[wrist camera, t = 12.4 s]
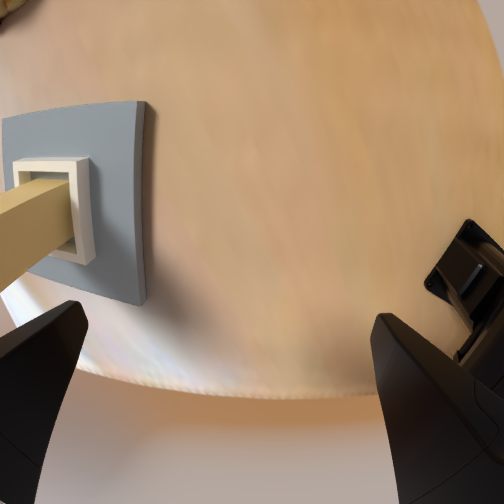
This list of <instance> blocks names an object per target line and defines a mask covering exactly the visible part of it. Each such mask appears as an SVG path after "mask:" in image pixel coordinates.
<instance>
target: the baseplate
mask: <svg viewBox="0 0 504 504" xmlns="http://www.w3.org/2000/svg"><path fill="white" fill-rule="evenodd" d="M144 113H145V101H125V102H109V103H96V104H86V105H77V106H69V107H62V108H55V109H49V110H43V111H37V112H32V113H27V114H22V115H17V116H13V117H9V118H4V119H2V151H3V169H4V181H5V190H6V191H8V190H11V189H13V188H15V187H17V186H20V185H22V184H25V183H27V182H29V181H32V180H34V179H37V178H44V179H62V180H69V186H70V200H71V211H72V220H73V229H74V237H72V238H71V239H69V240H68V241H66V242H65V243H64V244H62V245H61V246H59V247H58V248H57V249H55V250H54V251H52V252H51V253H50V254H48V255H47V256H46V257H44V258H43V259H42V260H40V261H39V262H38V263H36V264H35V265H34V266H33V267H31V268H30V269H29V270H27V271H26V272H29V273H32V274H35V275H38V276H41V277H43V278H46V279H49V280H52V281H55V282H58V283H61V284H64V285H68V286H71V287H74V288H77V289H80V290H84V291H87V292H90V293H94V294H97V295H100V296H104V297H107V298H111V299H114V300H118V301H122V302H125V303H129V304H133V305H137V306H142V304H143V303H144V302H145V300H146V299H147V297H146V286H145V274H144V260H143V241H142V206H141V179H142V145H143V127H144Z"/></svg>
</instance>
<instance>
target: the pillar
mask: <svg viewBox="0 0 504 504" xmlns="http://www.w3.org/2000/svg"><path fill="white" fill-rule="evenodd" d="M72 237H74V229H73V220H72V211H71V200H70V186H69V180H62V179H44V178H37V179H34V180H32V181H29V182H27V183H25V184H22V185H20V186H17V187H15V188H13V189H11V190H8V191H6V192H4V193H2V194H0V293H1V292H2V291H3V290H4V289H5V288H7V287H8V286H9V285H10V284H11V283H13V282H14V281H15V280H16V279H17V278H19V277H20V276H21V275H22V274H24V273H25V272H26V271H27V270H29V269H30V268H31V267H33V266H34V265H35V264H36V263H38V262H39V261H40V260H42V259H43V258H44V257H46V256H47V255H48V254H50V253H51V252H52V251H54V250H55V249H57V248H58V247H59V246H61V245H62V244H64V243H65V242H66V241H68V240H69V239H71V238H72Z"/></svg>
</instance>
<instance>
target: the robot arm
mask: <svg viewBox="0 0 504 504" xmlns="http://www.w3.org/2000/svg"><path fill="white" fill-rule="evenodd" d="M470 224H471V226H470V227H469V228H468V226H469V225H470ZM430 282H432V283H431V284H430V285H428V284H429V283H430ZM424 286H425V288H426V289H427V290H428V291H430V292H432V293H433V294H435V295H437V296H438V297H440V298H441V299H443V300H445V301H446V302H448V303H450V304H451V305H453V306H454V307H455V309H456V310H457V312H458V313H459V315H460V316H461V318H462V320H463V321H464V323H465V324H466V326H467V328H468V329H469V331H470V333H471V335H470V336H469V338H468V339H467V340H466V342H465V343H464V345H463V346H462V347H461V349H460V350H458V351H457V352H456V353H455V355H454V356H453V360H454V361H453V360H452V359H451V358H450V357H448V356H447V355H446V354H445V353H443V352H442V351H441V350H439V349H438V348H437V347H436V346H434V345H433V344H432V343H430V342H429V341H428V340H427V339H425V338H424V337H423V336H421V335H420V334H419V333H417V332H416V331H415V330H414V329H412V328H411V327H410V326H408V325H407V324H406V323H404V322H403V321H402V320H400V319H399V318H398V317H396V316H395V315H394V314H392V313H380V314H378V315H377V317H376V320H375V323H374V326H373V329H372V332H371V337H370V343H371V349H372V356H373V363H374V370H375V378H376V384H377V390H378V394H379V398H380V402H381V406H382V411H383V415H384V420H385V425H386V429H387V434H388V439H389V444H390V449H391V455H392V460H393V466H394V471H395V477H396V484H397V491H398V498H399V504H504V250H503V249H502V248H501V247H500V246H499V245H498V244H497V243H496V242H495V241H494V240H493V239H492V238H491V237H490V236H489V235H488V234H487V233H486V232H485V231H484V230H483V229H482V228H481V227H480V226H478V225H477V224H476V223H475V222H474V221H473V220H471V219H467V220H466V221H465V222H464V224H463V225H462V227H461V228H460V230H459V232H458V233H457V235H456V236H455V238H454V239H453V241H452V242H451V244H450V245H449V247H448V248H447V250H446V251H445V253H444V254H443V256H442V257H441V259H440V260H439V261H438V263H437V264H436V266H435V267H434V268H433V270H432V271H431V272H430V274H429V275H428V277H427V278H426V279H425V281H424ZM87 330H88V320H87V317H86V315H85V312H84V310H83V307H82V305H81V303H80V302H78V301H73V300H69V301H66V302H64V303H63V304H61V305H59V306H57V307H55V308H53V309H51V310H49V311H47V312H46V313H44V314H42V315H40V316H38V317H36V318H34V319H33V320H31V321H29V322H27V323H25V324H24V325H22V326H20V327H18V328H16V329H15V330H13V331H11V332H9V333H7V334H6V335H4V336H2V337H0V504H3V503H5V504H34V502H35V497H36V492H37V487H38V483H39V479H40V474H41V470H42V466H43V461H44V458H45V454H46V451H47V447H48V444H49V441H50V437H51V434H52V431H53V428H54V425H55V421H56V419H57V415H58V413H59V410H60V407H61V404H62V401H63V398H64V396H65V393H66V391H67V388H68V385H69V383H70V380H71V378H72V375H73V373H74V370H75V367H76V364H77V361H78V358H79V355H80V352H81V348H82V345H83V342H84V339H85V336H86V333H87Z"/></svg>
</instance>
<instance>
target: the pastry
mask: <svg viewBox="0 0 504 504" xmlns="http://www.w3.org/2000/svg"><path fill="white" fill-rule="evenodd" d="M26 1H27V0H0V23H1V21H2V20H3V18H4V17H6V16H7V15H8V14H10V13H13V12H14V11H15V10H16V9H18V8H19V7H20V6H21V5H23V4H24V3H25V2H26Z"/></svg>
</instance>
